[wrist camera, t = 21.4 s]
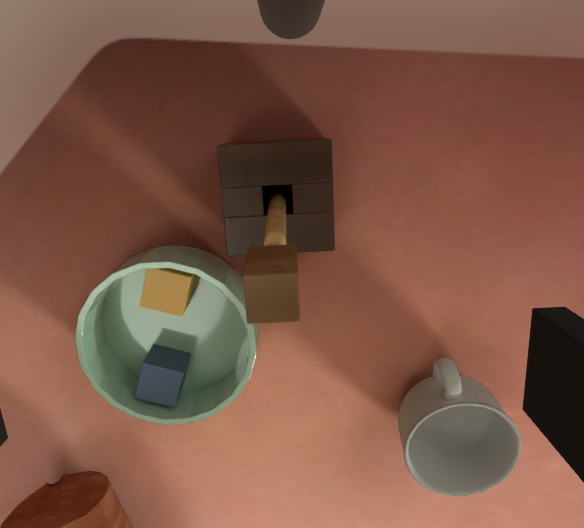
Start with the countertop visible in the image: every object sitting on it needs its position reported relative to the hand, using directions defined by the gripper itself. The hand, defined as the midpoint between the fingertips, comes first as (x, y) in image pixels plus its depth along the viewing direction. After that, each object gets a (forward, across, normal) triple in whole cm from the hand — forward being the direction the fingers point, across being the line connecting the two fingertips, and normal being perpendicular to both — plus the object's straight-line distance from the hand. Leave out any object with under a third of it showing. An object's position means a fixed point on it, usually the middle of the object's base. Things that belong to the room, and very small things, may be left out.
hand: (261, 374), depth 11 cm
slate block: (+34, -13, -18) cm, 40 cm away
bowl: (+35, -11, -13) cm, 39 cm away
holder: (+35, 0, 0) cm, 35 cm away
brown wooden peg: (+35, 0, 0) cm, 35 cm away
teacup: (+35, +16, -23) cm, 45 cm away
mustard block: (+34, -11, -8) cm, 36 cm away
